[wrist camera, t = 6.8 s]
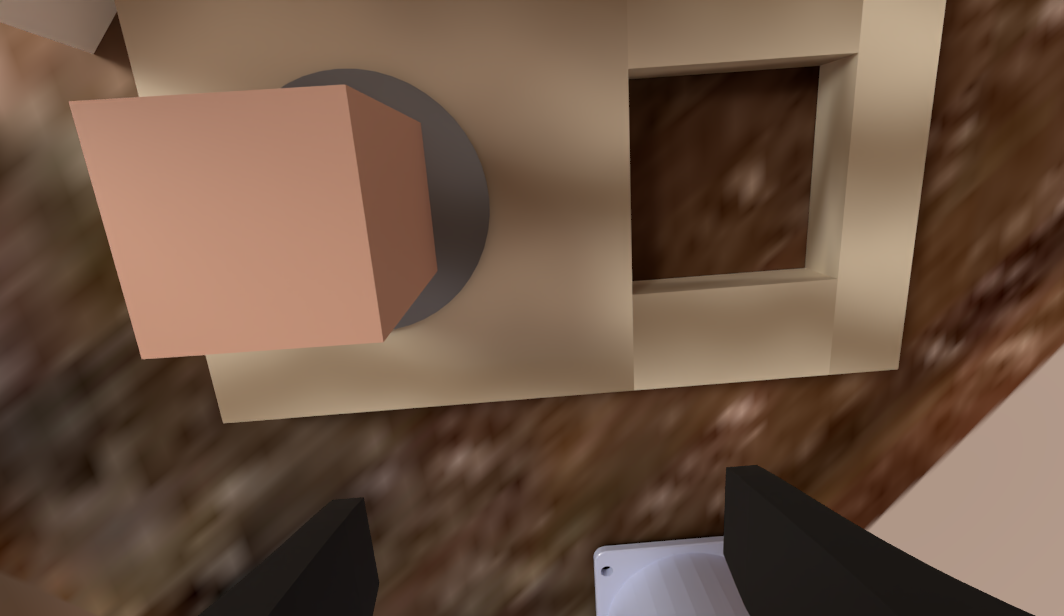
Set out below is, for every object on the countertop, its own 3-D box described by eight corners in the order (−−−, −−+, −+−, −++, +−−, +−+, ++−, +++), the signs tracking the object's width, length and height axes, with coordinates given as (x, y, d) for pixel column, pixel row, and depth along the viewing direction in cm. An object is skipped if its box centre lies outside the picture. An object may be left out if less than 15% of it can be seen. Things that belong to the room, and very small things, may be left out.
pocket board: (861, 349, 20) (904, 372, 18) (251, 398, 20) (218, 427, 17) (905, -59, 16) (966, -94, 14) (155, -8, 16) (97, -36, 14)
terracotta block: (437, 271, 16) (383, 342, 10) (297, 280, 16) (141, 358, 9) (421, 122, 15) (345, 84, 8) (268, 132, 15) (68, 101, 8)
